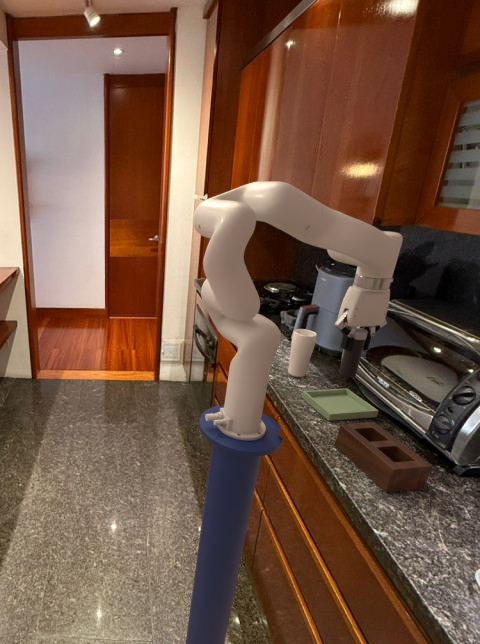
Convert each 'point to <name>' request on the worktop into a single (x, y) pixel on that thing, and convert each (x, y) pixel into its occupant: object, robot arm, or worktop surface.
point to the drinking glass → (301, 351)
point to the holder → (383, 457)
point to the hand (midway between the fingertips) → (353, 348)
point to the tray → (339, 404)
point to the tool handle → (353, 354)
